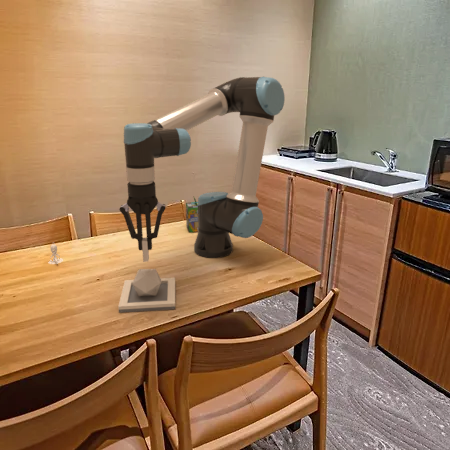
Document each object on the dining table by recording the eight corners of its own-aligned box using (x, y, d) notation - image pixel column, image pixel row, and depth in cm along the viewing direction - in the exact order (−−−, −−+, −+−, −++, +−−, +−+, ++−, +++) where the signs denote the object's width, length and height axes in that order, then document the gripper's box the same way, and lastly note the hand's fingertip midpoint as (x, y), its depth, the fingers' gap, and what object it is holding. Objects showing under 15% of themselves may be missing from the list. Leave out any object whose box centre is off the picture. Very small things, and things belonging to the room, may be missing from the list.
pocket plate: (175, 283, 128) (175, 277, 127) (175, 309, 113) (175, 303, 112) (125, 285, 126) (124, 280, 125) (118, 312, 111) (118, 306, 111)
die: (149, 306, 114) (166, 277, 114) (124, 291, 114) (141, 262, 114) (153, 301, 122) (168, 274, 123) (129, 287, 122) (145, 260, 122)
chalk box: (209, 231, 173) (208, 199, 168) (188, 233, 171) (187, 200, 166) (205, 224, 181) (205, 193, 176) (186, 225, 180) (185, 194, 175)
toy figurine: (62, 257, 147) (59, 238, 144) (66, 265, 140) (63, 246, 138) (46, 260, 144) (43, 241, 142) (50, 268, 138) (47, 249, 135)
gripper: (165, 178, 112) (168, 253, 120) (118, 178, 110) (125, 255, 118) (164, 184, 105) (168, 264, 113) (115, 185, 103) (121, 266, 111)
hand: (146, 259), depth 115 cm, fingers closed
